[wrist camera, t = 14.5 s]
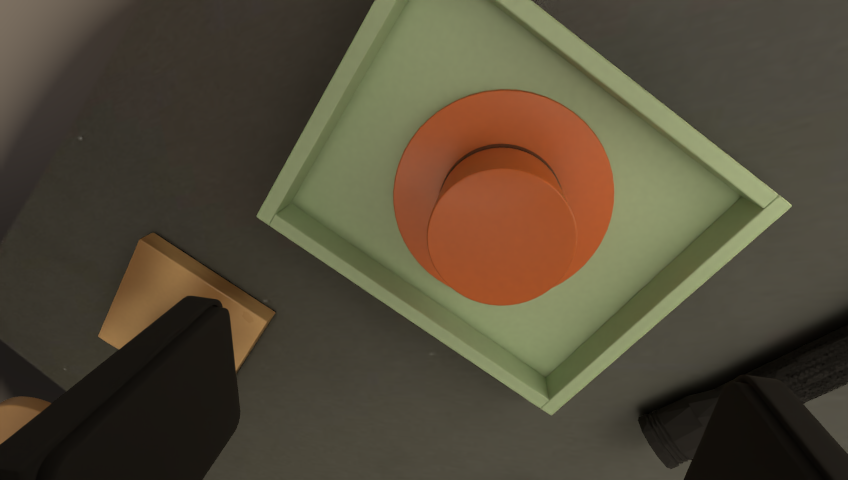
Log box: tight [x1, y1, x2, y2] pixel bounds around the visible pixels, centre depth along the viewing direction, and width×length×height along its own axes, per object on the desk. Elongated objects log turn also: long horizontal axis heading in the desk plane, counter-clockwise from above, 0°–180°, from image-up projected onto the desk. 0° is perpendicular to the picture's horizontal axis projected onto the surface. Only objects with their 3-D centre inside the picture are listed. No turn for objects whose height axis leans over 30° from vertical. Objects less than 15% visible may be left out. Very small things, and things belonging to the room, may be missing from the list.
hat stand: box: [0, 233, 275, 444], centre depth 25 cm, size 9×9×11 cm
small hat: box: [393, 89, 614, 306], centre depth 21 cm, size 11×11×6 cm
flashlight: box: [638, 325, 848, 469], centre depth 23 cm, size 3×16×3 cm, turn 132°
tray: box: [256, 0, 792, 415], centre depth 23 cm, size 20×16×3 cm
